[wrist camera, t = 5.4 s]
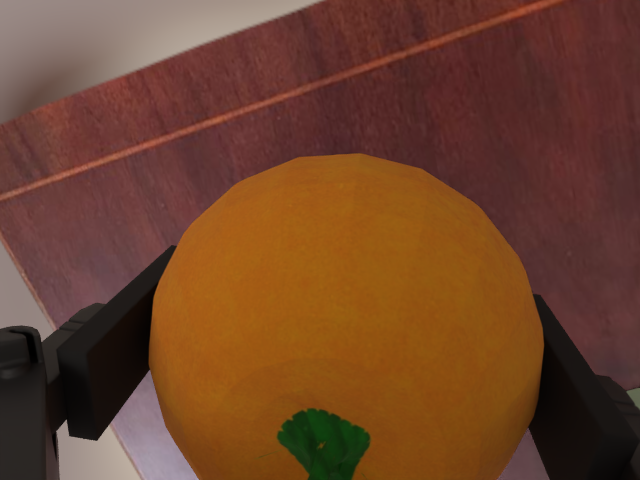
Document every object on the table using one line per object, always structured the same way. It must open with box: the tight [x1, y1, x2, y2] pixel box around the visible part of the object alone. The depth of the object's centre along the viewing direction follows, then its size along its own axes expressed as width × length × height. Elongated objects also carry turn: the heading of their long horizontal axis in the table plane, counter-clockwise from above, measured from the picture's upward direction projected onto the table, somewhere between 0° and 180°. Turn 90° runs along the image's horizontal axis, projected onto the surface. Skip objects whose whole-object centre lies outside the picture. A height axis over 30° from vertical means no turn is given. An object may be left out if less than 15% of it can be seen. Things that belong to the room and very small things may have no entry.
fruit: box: [149, 153, 544, 480], centre depth 13 cm, size 12×12×10 cm
